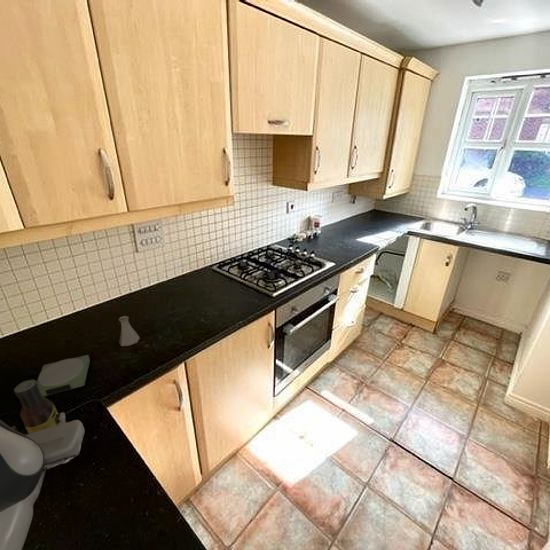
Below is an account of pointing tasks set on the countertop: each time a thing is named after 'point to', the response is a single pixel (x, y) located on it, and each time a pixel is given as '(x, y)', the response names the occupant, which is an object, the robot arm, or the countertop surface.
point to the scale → (63, 375)
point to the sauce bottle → (35, 407)
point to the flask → (127, 333)
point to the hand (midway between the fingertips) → (37, 421)
